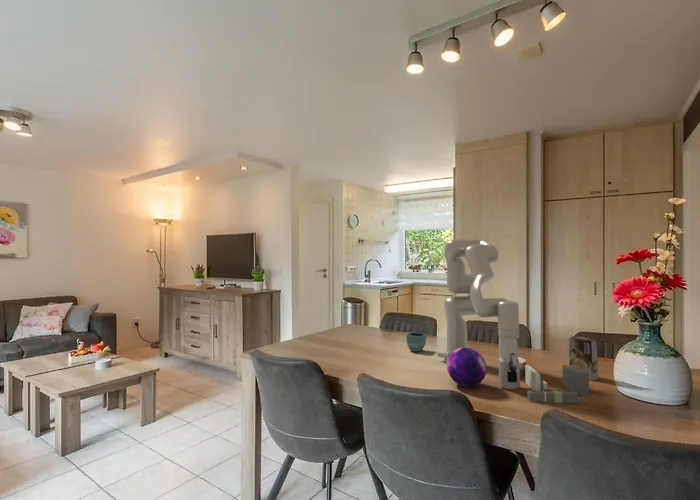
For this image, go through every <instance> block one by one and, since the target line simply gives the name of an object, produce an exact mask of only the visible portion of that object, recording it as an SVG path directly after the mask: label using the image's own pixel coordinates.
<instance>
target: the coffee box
mask: <svg viewBox="0 0 700 500" xmlns="http://www.w3.org/2000/svg"><path fill="white" fill-rule="evenodd" d="M598 356H599V355H598V339H597V338H591V337H583V336H578V335H576V336H575V335H573V336H570V337H569V338H568V358H569V359H568V360H569V365H576V366H578V367H579V368H581V369H583V370H584V371H586V372H587V373H589V381H595V380H597V379H599V357H598Z"/></svg>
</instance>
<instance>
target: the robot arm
mask: <svg viewBox="0 0 700 500" xmlns="http://www.w3.org/2000/svg"><path fill="white" fill-rule="evenodd" d="M443 251H444V252H443V255H444V258H445V259H444V260H445V262H446V287H447V291H448V292H449V293H450V294H456V295H458V294H460V295H461V294H466V295H461V296H460V295H459V296H450V297H447V298H446V299H445V301H444V303H443V307H444V308H443V309H444V313H445V322H446V349H447V350H445V351H444V352H437V357H438V358H443V361H444V363H446V364H447V361H448V358H449V356H450V354H451V353H452V352H453V351H454V350H456V349H458V348H462V347H468V327H467V322H466V321H465V320H464V317H465V316H466V317H467V316H476V315H477V316H478V317H480V318H497V336H498V337H499V339H498V359H499V358H500V356H501V357H502V360H503V363H504V364H506V363H507V364H508V371H507V373H508V382H517V368H516V366H517V363H518V360H519V349H518V339H519V338H520V320H519V319H520V315H519V314H520V311H519V310H520V309H519V303H518V302H517V301H515V300H514V301H513V300H508V299H505V298H504V297H503V298H502V297H497V298H496V297H495V298H484V297H483V294H482V290H481V287H482V285H483V284H486V283H487V282H489V281H490V280H492V279H493V278H494V275H495V273H494V271H493V268H492V266H491V264H493V263H496V262H497V260H498V259H499V252H498V249H497V247H495V245H493V244H492V243H489V242H487V241H485V240H482V239H477V238H456V239H451V240H449V241H447V242H446V243H445V245H444V249H443ZM462 258H465V259H466V261H467V264H468V267H469V269H470V273H466V265H465V262H464V261H463V260H462ZM509 361H512V363H509ZM510 365H512V366H511V368H510Z"/></svg>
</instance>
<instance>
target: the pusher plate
mask: <svg viewBox="0 0 700 500" xmlns="http://www.w3.org/2000/svg"><path fill="white" fill-rule="evenodd" d="M524 368H525V370H524V372H525V373H524V374H525V377H524V379H525V380H524V381H525V384H526V385H527V386H528V388H530V389H531V391H548V382H546V381H545V380H543V379H542V380H541V374H540V373H539V372H538V371H536V369H534V368H533V367H532V366H531V365H529V364H525V365H524Z"/></svg>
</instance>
